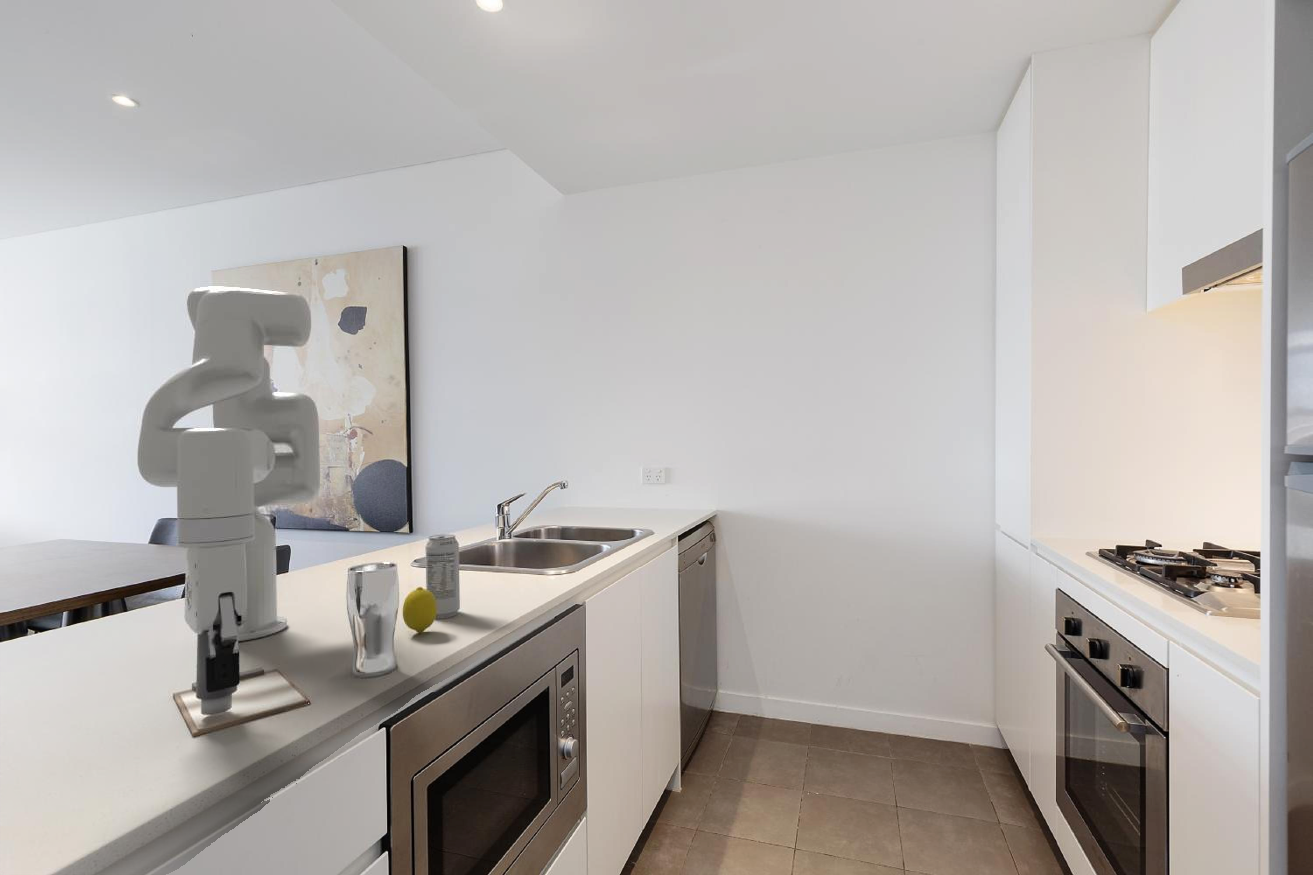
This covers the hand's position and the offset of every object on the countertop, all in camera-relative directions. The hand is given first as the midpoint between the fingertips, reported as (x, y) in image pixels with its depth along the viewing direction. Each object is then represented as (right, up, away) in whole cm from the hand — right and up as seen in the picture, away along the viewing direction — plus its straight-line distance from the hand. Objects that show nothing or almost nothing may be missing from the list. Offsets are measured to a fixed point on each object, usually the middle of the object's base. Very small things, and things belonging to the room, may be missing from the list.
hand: (219, 681), depth 74 cm
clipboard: (-1, -5, +6) cm, 7 cm away
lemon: (+12, -5, +32) cm, 35 cm away
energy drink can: (+12, -5, +44) cm, 46 cm away
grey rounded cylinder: (0, -3, 0) cm, 3 cm away
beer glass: (+12, -5, +15) cm, 20 cm away
